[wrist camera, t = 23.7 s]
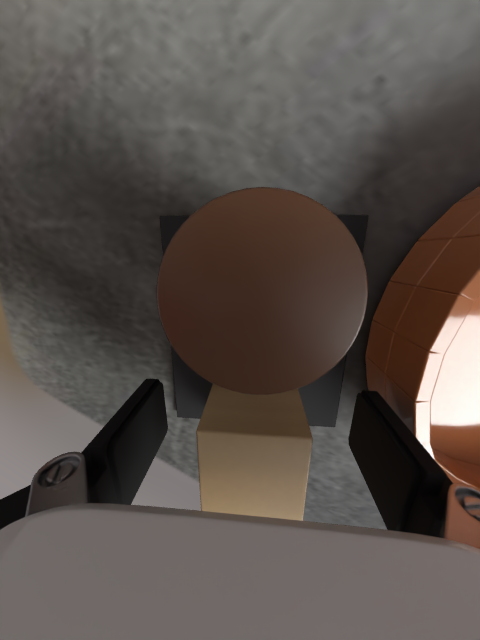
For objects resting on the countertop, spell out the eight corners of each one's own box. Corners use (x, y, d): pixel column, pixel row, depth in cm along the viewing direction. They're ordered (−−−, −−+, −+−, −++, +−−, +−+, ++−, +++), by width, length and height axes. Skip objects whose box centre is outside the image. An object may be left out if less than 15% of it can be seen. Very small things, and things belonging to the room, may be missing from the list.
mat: (162, 217, 11) (159, 216, 11) (365, 216, 11) (369, 214, 10) (179, 413, 15) (177, 417, 14) (333, 422, 14) (335, 427, 14)
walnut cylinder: (218, 231, 11) (143, 187, 4) (301, 231, 11) (389, 183, 3) (220, 309, 12) (165, 391, 5) (294, 312, 12) (351, 400, 5)
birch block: (221, 358, 13) (195, 430, 8) (290, 362, 13) (313, 438, 7) (222, 416, 14) (200, 512, 9) (285, 420, 14) (302, 522, 8)
